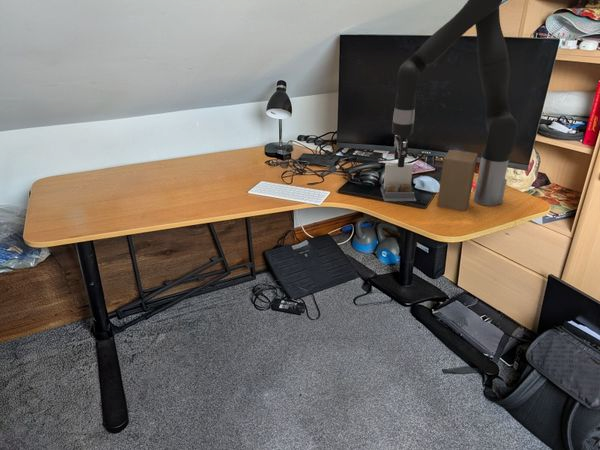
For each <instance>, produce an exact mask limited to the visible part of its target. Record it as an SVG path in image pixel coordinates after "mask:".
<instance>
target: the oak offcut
mask: <svg viewBox="0 0 600 450" xmlns="http://www.w3.org/2000/svg"><path fill="white" fill-rule="evenodd" d="M386 192H398V185H387V189H386Z"/></svg>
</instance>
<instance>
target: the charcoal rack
mask: <svg viewBox="0 0 600 450" xmlns="http://www.w3.org/2000/svg"><path fill="white" fill-rule="evenodd" d="M386 189H387V188H384V183H381V187H380V191H381V195H382V199H383V201H384V202H416V201H417V199H416V197H415V192H414V191H413V187H412V188H411V192H399V191H400V188H398V192H386Z"/></svg>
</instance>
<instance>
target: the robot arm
mask: <svg viewBox="0 0 600 450" xmlns="http://www.w3.org/2000/svg"><path fill="white" fill-rule="evenodd" d="M502 3H503V0H467V2H466V3H465V4H464V5H463V7H462V8H461V9H460V10H459V11H458V12H457V13H456V14H455V15H454V16H453V17H452V18H451V19H449V21H447V22H446V23H445V24H444V25H443V26H441V27H439V29H437V30H436V31H435V32H433V34H432V35H431V36H430V37H429V38H428V39H427V40H425V42H424V43H422V45H421V46H420V47H419V49H418V50H417V51H415V52H414V53H413V54H412V55H411V56H409V58H407V59H406V60H405V61H404V62H402V64H401V65H400V67H399V68H398V72H397V83H396V96H395V101H394V111H393V115H392V116H393V117H392V127H391V133H392V134H393V135H394V141H393V146H394V147H393V148H394V155H393V157H394V160H397V163H398V167H404V163H405V160H406V159H407V158H408V148H409V140H408V139H407V137H408V136H412V134H414V133H413V132H414V124H415V115H416V113H415V112H416V111H415V110H416V102H417V89H418V84H419V76H420V75H421V74H422V73H423V72H424V71H425V70H426V69H427V68H428V67H429V66H432V65H434V63H436V62H438V61H437V60H439V59H441V57H442V56H443V55H444V54H445V53H447V51H449V49H450V48H451V47H452V46H454V44H455V43H457V41H458V40H459V39H461V37H462V36H463V35H464V34H465V33H467V31H469V30H470V29H472V27H474V26H475V31H476V51H477V53H476V54H477V65H478V73H479V78H480V82H481V83H480V84H481V89H482V93H483V96H484V103H485V128H486V131H487V133H488V134H487V138H486V139H487V140H486V142H485V143H486V144H485V147H484V148H483V149H482V153H481V158H480V163H479V169H478V174H477V179H476V184H475V185H476V186H475V191H474V197H473V201H475V203H477V204H479V205H483V206H489V207H490V206H491V207H494V206H498V205H502V203H503V200H504V195H505V191H506V185H507V179H506V176H507V170H508V166H509V165H508V164H509V161H510V159H511V158H510V157H511V155H512V153H513V151H514V148H515V144H516V139H517V136H518V130H519V125H518V122H517V120H516V119H515V118H514V116H513V115H512V113H511V108H510V103H509V98H508V97H509V96H508V89H509V83H510V73H511V72H510V61H509V53H508V48H507V42H506V40H505V39H506V38H505V37H504V33H503V30H502V26H501V25H502V24H501V17H500V6H501V4H502Z"/></svg>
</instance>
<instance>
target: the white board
mask: <svg viewBox="0 0 600 450" xmlns="http://www.w3.org/2000/svg"><path fill="white" fill-rule="evenodd" d="M413 168H414V164H413V163H407V162H406V163H405V162H404V167H398V162H397V163H396V162H395V163H394V162H393V163H392V162H391V163H385V165H384V176H383V184H384V188H387V185H398V188H400V185H411V186H412V177H413V170H414V169H413Z"/></svg>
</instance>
